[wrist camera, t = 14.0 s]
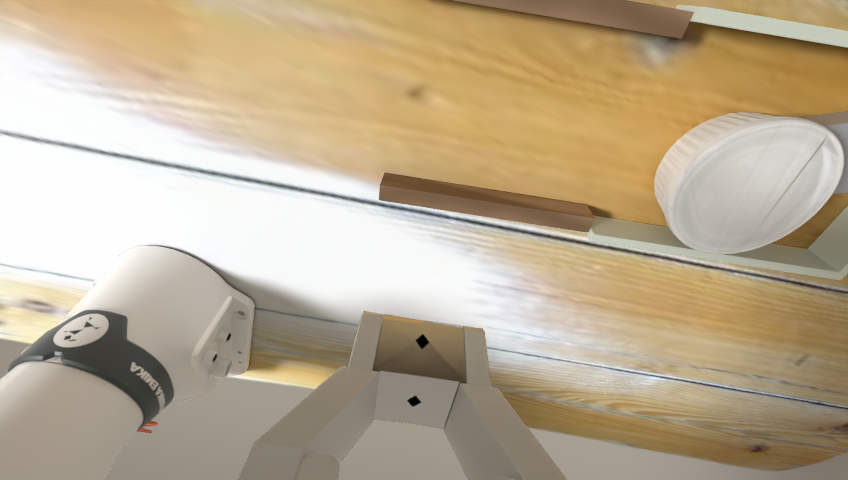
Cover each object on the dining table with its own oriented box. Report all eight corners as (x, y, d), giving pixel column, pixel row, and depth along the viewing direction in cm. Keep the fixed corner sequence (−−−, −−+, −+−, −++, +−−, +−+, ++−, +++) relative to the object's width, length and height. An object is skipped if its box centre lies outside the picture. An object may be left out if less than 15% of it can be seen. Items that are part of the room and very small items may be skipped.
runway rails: (580, 218, 35) (588, 232, 33) (383, 187, 34) (378, 200, 32) (675, 9, 25) (694, 11, 23) (401, -37, 25) (396, -39, 23)
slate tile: (843, 176, 31) (870, 190, 29) (764, 184, 32) (785, 198, 30) (880, 105, 28) (914, 114, 26) (792, 116, 29) (817, 126, 27)
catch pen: (809, 256, 35) (840, 280, 33) (579, 220, 35) (590, 241, 32) (996, 58, 25) (1065, 67, 22) (677, 4, 25) (706, 7, 22)
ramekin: (787, 196, 32) (838, 229, 28) (650, 237, 36) (677, 272, 31) (793, 73, 27) (858, 89, 23) (631, 135, 30) (661, 160, 26)
